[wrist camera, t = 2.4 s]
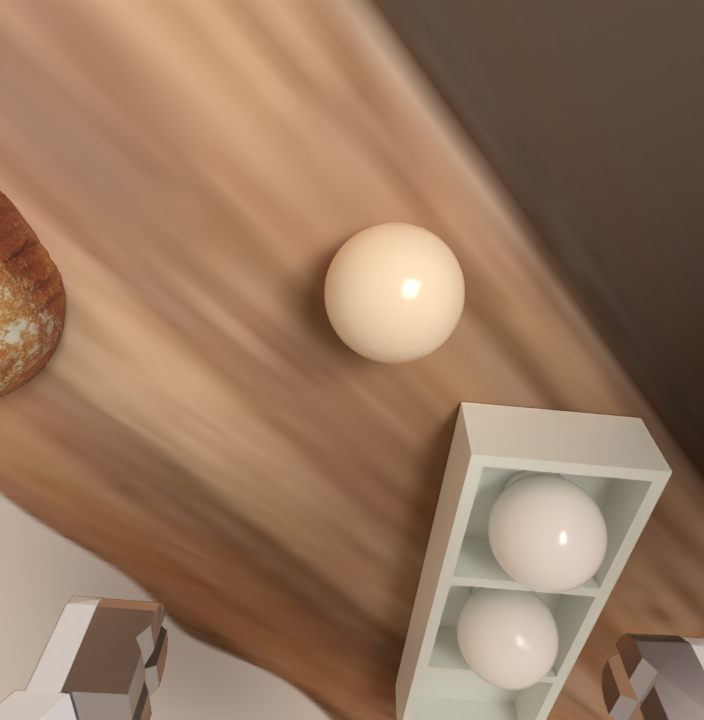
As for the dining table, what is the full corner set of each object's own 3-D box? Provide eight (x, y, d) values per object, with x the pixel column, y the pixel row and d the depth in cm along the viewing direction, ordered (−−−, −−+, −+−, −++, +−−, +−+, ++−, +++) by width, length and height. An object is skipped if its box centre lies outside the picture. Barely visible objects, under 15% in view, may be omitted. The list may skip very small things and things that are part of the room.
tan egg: (467, 209, 22) (488, 265, 18) (444, 325, 25) (458, 397, 21) (333, 196, 22) (323, 249, 18) (324, 314, 25) (314, 384, 21)
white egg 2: (556, 565, 32) (584, 656, 27) (532, 622, 34) (554, 713, 30) (461, 557, 32) (474, 647, 27) (444, 615, 34) (454, 706, 30)
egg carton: (640, 418, 27) (672, 472, 25) (518, 694, 40) (529, 751, 37) (461, 401, 27) (471, 454, 24) (395, 684, 40) (396, 740, 37)
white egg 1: (601, 456, 27) (642, 544, 23) (570, 531, 30) (602, 622, 26) (492, 446, 27) (513, 533, 23) (470, 522, 30) (486, 612, 26)
